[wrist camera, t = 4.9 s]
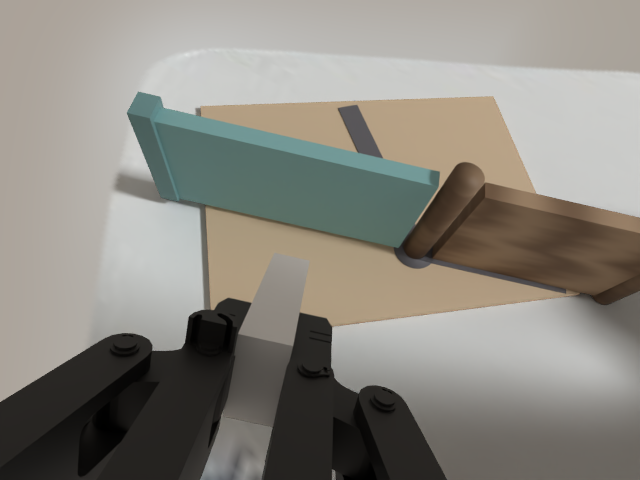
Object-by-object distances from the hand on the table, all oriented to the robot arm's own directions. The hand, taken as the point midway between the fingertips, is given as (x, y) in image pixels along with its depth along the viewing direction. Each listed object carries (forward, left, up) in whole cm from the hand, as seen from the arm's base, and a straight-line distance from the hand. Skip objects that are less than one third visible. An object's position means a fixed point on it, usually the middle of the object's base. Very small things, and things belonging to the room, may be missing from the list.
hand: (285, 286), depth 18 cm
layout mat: (-16, -4, -15) cm, 22 cm away
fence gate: (-8, -8, -14) cm, 17 cm away
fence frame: (-19, +8, -15) cm, 25 cm away
